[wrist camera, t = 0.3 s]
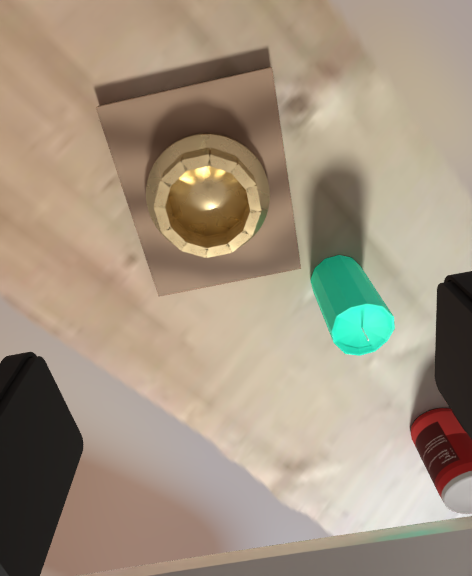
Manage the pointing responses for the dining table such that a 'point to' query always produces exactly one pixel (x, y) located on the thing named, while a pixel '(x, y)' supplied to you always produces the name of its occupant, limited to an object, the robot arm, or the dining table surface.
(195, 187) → the candle holder
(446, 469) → the canned food
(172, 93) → the walnut board
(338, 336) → the candle
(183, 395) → the dining table surface
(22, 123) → the dining table surface
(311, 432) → the dining table surface
